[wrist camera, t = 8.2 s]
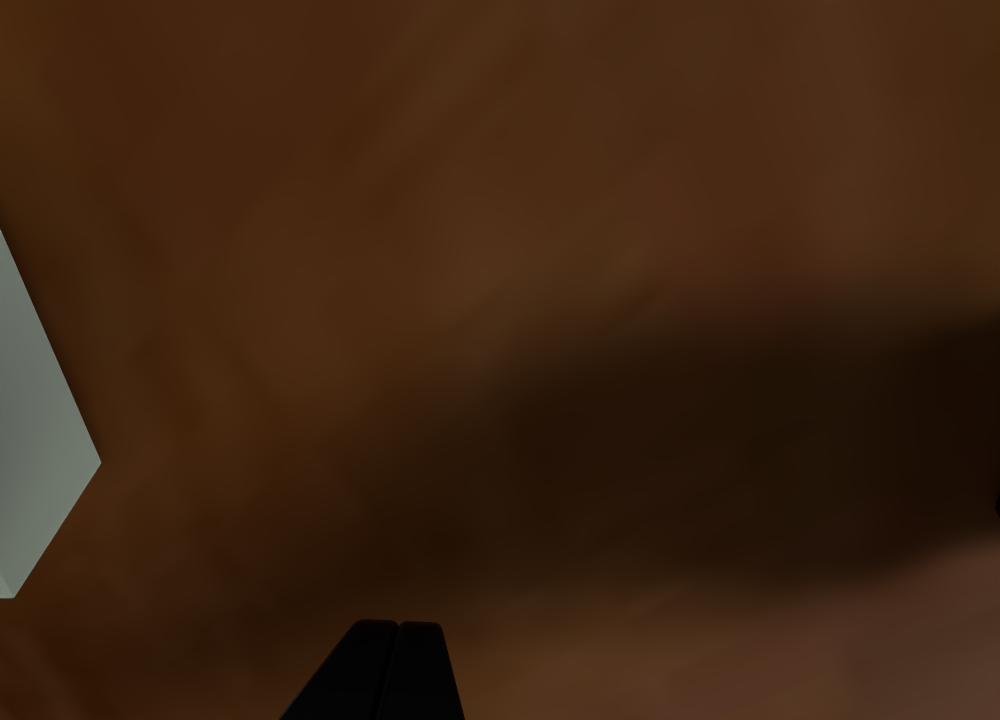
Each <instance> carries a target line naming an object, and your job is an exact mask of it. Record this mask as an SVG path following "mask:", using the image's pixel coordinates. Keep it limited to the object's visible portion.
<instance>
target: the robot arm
mask: <svg viewBox="0 0 1000 720" xmlns="http://www.w3.org/2000/svg"><path fill="white" fill-rule="evenodd" d="M995 510H996V512H997V514H998V516H999V517H1000V496H999V498H998V501H997V503H996V508H995ZM278 720H465V717H464V713H463V709H462V705H461V701H460V697H459V694H458V690H457V686H456V682H455V678H454V674H453V670H452V666H451V662H450V658H449V654H448V650H447V646H446V642H445V638H444V634H443V631H442V628H441V626H440V625H439V624H437V623H434V622H413V621H406V622H403V623H401V624H400V626H398V624H397V623H396V622H394V621H391V620H372V619H362V620H359V621H357V622H355V623H354V624H353V625H352V626H351V627H350V629H349V630H348V631H347V632H346V634H345V635H344V636H343V638H342V639H341V640H340V641H339V643H338V644H337V645H336V646H335V648H334V649H333V650H332V652H331V653H330V654H329V655H328V657H327V658H326V659H325V660H324V662H323V663H322V664H321V665H320V667H319V668H318V669H317V671H316V672H315V673H314V674H313V676H312V677H311V678H310V679H309V681H308V682H307V683H306V685H305V686H304V687H303V688H302V690H301V691H300V692H299V693H298V695H297V696H296V697H295V699H294V700H293V701H292V702H291V704H290V705H289V706H288V707H287V709H286V710H285V711H284V712H283V714H282V715H281V716H280V718H279V719H278Z"/></svg>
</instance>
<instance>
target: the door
mask: <svg viewBox="0 0 1000 720" xmlns="http://www.w3.org/2000/svg"><path fill="white" fill-rule="evenodd" d="M100 464H101V461H100V458H99V456H98V454H97V451H96V449H95V447H94V444H93V442H92V440H91V438H90V435H89V433H88V431H87V428H86V426H85V424H84V421H83V419H82V417H81V414H80V412H79V410H78V408H77V405H76V403H75V401H74V398H73V396H72V394H71V391H70V389H69V387H68V384H67V382H66V380H65V377H64V375H63V373H62V371H61V368H60V366H59V364H58V361H57V359H56V357H55V354H54V352H53V350H52V347H51V345H50V343H49V341H48V338H47V336H46V334H45V331H44V329H43V327H42V324H41V322H40V320H39V317H38V315H37V313H36V311H35V308H34V306H33V304H32V301H31V299H30V297H29V294H28V292H27V290H26V287H25V285H24V283H23V280H22V278H21V276H20V274H19V271H18V269H17V267H16V264H15V262H14V260H13V257H12V255H11V253H10V250H9V248H8V246H7V244H6V241H5V239H4V237H3V234H2V232H1V230H0V598H14V597H15V596H16V594H17V593H18V591H19V589H20V588H21V586H22V585H23V583H24V582H25V580H26V579H27V577H28V576H29V574H30V572H31V571H32V569H33V568H34V566H35V565H36V563H37V562H38V560H39V559H40V557H41V555H42V554H43V552H44V551H45V549H46V548H47V546H48V545H49V543H50V542H51V540H52V538H53V537H54V535H55V534H56V532H57V531H58V529H59V528H60V526H61V525H62V523H63V521H64V520H65V518H66V517H67V515H68V514H69V512H70V511H71V509H72V508H73V506H74V504H75V503H76V501H77V500H78V498H79V497H80V495H81V494H82V492H83V491H84V489H85V487H86V486H87V484H88V483H89V481H90V480H91V478H92V477H93V475H94V474H95V472H96V470H97V469H98V467H99V466H100Z"/></svg>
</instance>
